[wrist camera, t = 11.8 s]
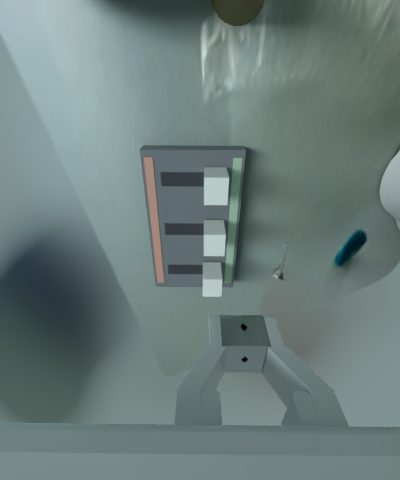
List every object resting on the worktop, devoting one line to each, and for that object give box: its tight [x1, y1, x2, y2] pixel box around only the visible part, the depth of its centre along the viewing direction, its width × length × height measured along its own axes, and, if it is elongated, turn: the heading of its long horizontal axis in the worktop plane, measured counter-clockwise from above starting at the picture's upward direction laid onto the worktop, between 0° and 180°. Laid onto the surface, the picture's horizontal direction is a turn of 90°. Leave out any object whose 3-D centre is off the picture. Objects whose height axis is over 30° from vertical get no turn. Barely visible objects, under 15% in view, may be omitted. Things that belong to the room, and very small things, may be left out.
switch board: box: [140, 146, 246, 287], centre depth 41 cm, size 14×24×3 cm, turn 0°
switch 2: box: [203, 262, 222, 297], centre depth 42 cm, size 3×4×4 cm
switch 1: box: [204, 167, 229, 205], centre depth 33 cm, size 3×4×4 cm
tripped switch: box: [204, 220, 226, 256], centre depth 37 cm, size 3×4×4 cm
